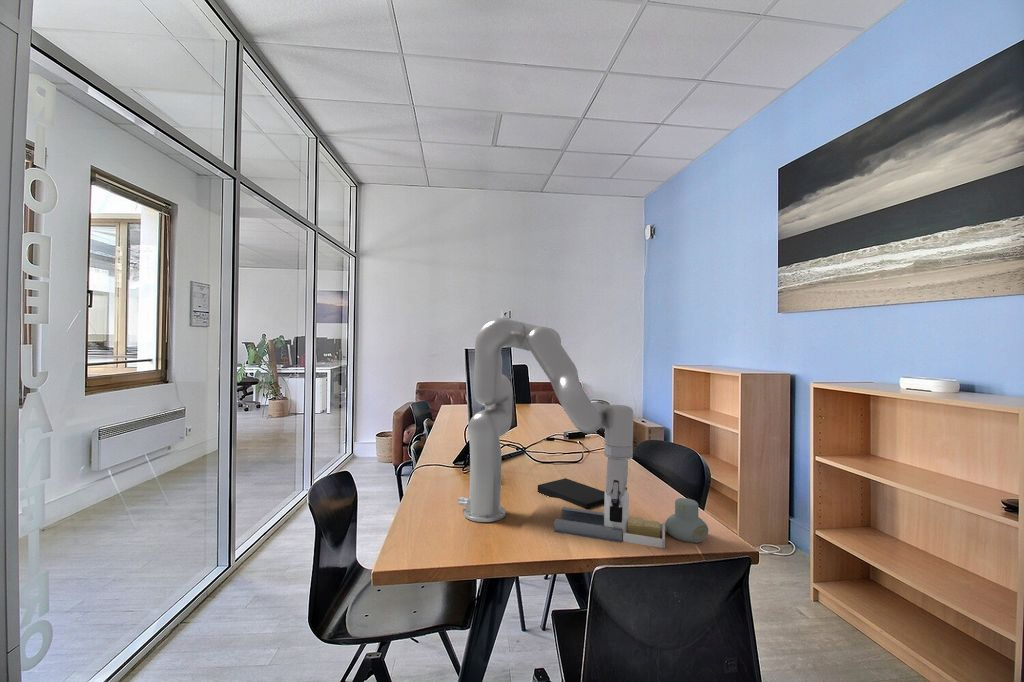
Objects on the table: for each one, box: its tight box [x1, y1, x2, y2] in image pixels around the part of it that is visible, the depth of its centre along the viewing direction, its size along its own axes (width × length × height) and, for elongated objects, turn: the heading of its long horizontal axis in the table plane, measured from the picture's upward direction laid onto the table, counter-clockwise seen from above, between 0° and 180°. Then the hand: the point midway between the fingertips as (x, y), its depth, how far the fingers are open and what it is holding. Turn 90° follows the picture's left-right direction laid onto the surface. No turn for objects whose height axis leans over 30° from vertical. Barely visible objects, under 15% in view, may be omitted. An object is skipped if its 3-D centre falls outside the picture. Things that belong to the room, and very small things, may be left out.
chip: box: [643, 519, 661, 538], centre depth 114 cm, size 4×4×4 cm
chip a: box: [628, 516, 645, 536], centre depth 116 cm, size 4×4×4 cm
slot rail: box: [553, 506, 623, 544], centre depth 119 cm, size 18×13×4 cm
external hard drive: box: [537, 477, 605, 510], centre depth 147 cm, size 14×23×3 cm, turn 38°
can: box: [603, 486, 630, 533], centre depth 117 cm, size 6×6×12 cm
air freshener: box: [664, 497, 709, 544], centre depth 116 cm, size 11×8×10 cm
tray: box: [622, 522, 666, 549], centre depth 115 cm, size 10×11×3 cm
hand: (617, 516), depth 117 cm, fingers closed on can, 6 cm apart
